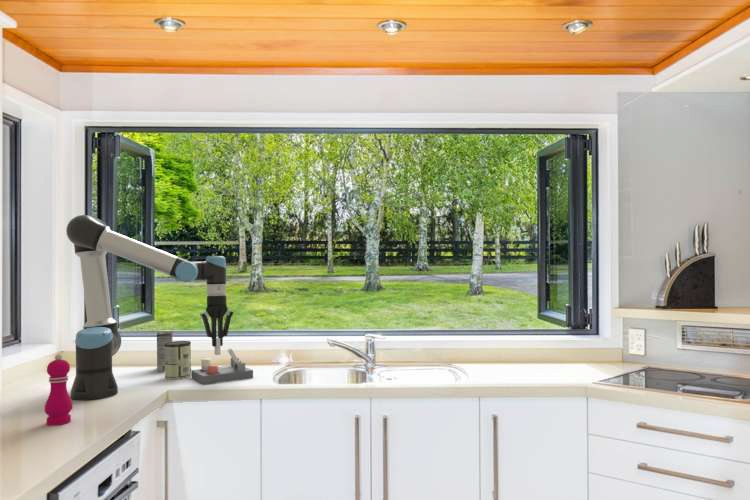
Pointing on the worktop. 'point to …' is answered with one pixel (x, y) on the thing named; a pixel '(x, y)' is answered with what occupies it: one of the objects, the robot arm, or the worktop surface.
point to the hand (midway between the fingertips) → (217, 354)
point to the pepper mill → (58, 393)
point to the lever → (233, 356)
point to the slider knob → (233, 361)
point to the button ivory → (205, 364)
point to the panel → (223, 374)
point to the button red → (212, 369)
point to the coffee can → (177, 359)
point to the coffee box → (162, 348)
